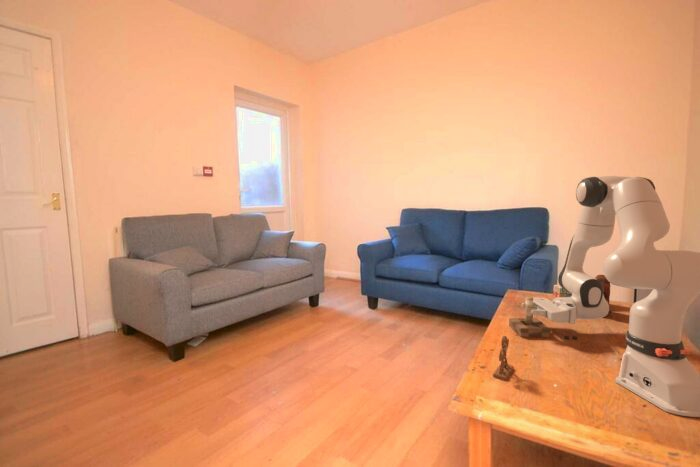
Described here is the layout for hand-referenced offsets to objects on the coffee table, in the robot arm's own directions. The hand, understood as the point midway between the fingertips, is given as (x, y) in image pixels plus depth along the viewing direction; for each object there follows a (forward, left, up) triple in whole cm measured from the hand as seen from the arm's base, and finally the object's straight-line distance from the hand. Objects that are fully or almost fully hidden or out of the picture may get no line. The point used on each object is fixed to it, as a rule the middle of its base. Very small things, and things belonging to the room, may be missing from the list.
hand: (526, 308), depth 134 cm
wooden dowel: (0, -1, -10) cm, 10 cm away
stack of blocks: (+34, -41, -10) cm, 54 cm away
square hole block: (0, -1, -10) cm, 10 cm away
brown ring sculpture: (-32, +22, -10) cm, 40 cm away
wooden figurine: (+20, -42, -10) cm, 47 cm away
